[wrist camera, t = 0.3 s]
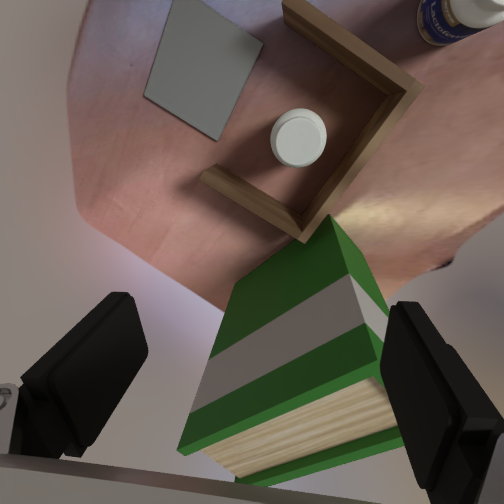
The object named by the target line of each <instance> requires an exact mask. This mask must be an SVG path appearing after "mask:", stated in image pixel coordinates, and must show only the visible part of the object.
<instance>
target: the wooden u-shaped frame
mask: <svg viewBox="0 0 504 504" xmlns="http://www.w3.org/2000/svg"><path fill="white" fill-rule="evenodd" d="M282 9H283V15H284V22H285V24H286V25H288V26H289V27H290V28H292V29H293V30H295V31H296V32H298V33H299V34H300V35H302V36H303V37H305V38H306V39H308V40H309V41H311V42H312V43H313V44H315V45H316V46H318V47H319V48H321V49H322V50H323V51H325V52H326V53H328V54H329V55H331V56H332V57H333V58H335V59H336V60H338V61H339V62H341V63H342V64H344V65H345V66H346V67H348V68H349V69H351V70H352V71H354V72H355V73H356V74H358V75H359V76H361V77H362V78H364V79H365V80H366V81H368V82H369V83H371V84H372V85H374V86H375V87H376V88H378V89H379V90H381V91H382V92H384V93H385V94H387V95H388V96H387V97H386V98H385V100H384V101H383V103H382V104H381V105H380V107H379V108H378V110H377V111H376V112H375V114H374V115H373V117H372V118H371V119H370V121H369V122H368V124H367V125H366V126H365V128H364V129H363V131H362V132H361V133H360V135H359V136H358V138H357V139H356V140H355V142H354V143H353V145H352V146H351V147H350V149H349V150H348V152H347V153H346V154H345V156H344V157H343V159H342V160H341V161H340V163H339V164H338V166H337V167H336V169H335V170H334V171H333V173H332V174H331V176H330V177H329V178H328V180H327V181H326V183H325V184H324V185H323V187H322V188H321V190H320V191H319V192H318V194H317V195H316V197H315V198H314V199H313V201H312V202H311V204H310V205H309V206H308V208H307V209H306V211H305V212H304V213H303V215H300V214H298V213H297V212H295V211H293V210H292V209H290V208H289V207H287V206H285V205H284V204H282V203H280V202H279V201H277V200H275V199H274V198H272V197H271V196H269V195H267V194H266V193H264V192H262V191H261V190H259V189H258V188H256V187H254V186H253V185H251V184H249V183H248V182H246V181H245V180H243V179H241V178H240V177H238V176H236V175H235V174H233V173H232V172H230V171H228V170H227V169H225V168H223V167H222V166H220V165H219V164H217V163H216V164H215V165H213V166H211V167H210V168H208V169H206V170H205V171H203V172H202V174H201V176H200V178H199V181H201V182H203V183H204V184H206V185H208V186H209V187H211V188H213V189H214V190H216V191H218V192H219V193H221V194H223V195H224V196H226V197H228V198H229V199H231V200H233V201H234V202H236V203H238V204H239V205H241V206H243V207H244V208H246V209H248V210H249V211H251V212H253V213H254V214H256V215H258V216H259V217H261V218H263V219H264V220H266V221H268V222H269V223H271V224H273V225H274V226H276V227H278V228H279V229H281V230H283V231H284V232H286V233H287V234H289V235H291V236H292V237H294V238H296V239H297V240H299V241H301V242H302V243H304V244H305V243H306V242H307V240H308V239H309V238H310V236H311V235H312V234H313V232H314V231H315V230H316V229H317V227H318V226H319V225H320V223H321V222H322V221H323V219H324V218H325V217H326V215H327V214H328V213H329V211H330V210H331V209H332V208H333V206H334V205H335V204H336V202H337V201H338V200H339V198H340V197H341V196H342V194H343V193H344V192H345V191H346V189H347V188H348V187H349V185H350V184H351V183H352V181H353V180H354V179H355V177H356V176H357V175H358V173H359V172H360V171H361V170H362V168H363V167H364V166H365V164H366V163H367V162H368V160H369V159H370V158H371V156H372V155H373V154H374V152H375V151H376V150H377V149H378V147H379V146H380V145H381V143H382V142H383V141H384V139H385V138H386V137H387V135H388V134H389V133H390V131H391V130H392V129H393V128H394V126H395V125H396V124H397V122H398V121H399V120H400V118H401V117H402V116H403V114H404V113H405V112H406V110H407V109H408V108H409V107H410V105H411V104H412V103H413V101H414V100H415V99H416V97H417V96H418V95H419V93H420V92H421V91H422V90H423V88H424V87H425V85H423V84H422V83H420V82H419V81H418V80H416V79H415V78H413V77H412V76H411V75H409V74H408V73H406V72H405V71H404V70H402V69H401V68H399V67H398V66H397V65H395V64H394V63H392V62H391V61H390V60H388V59H387V58H385V57H384V56H383V55H381V54H380V53H378V52H377V51H376V50H374V49H373V48H371V47H370V46H369V45H367V44H366V43H364V42H363V41H362V40H360V39H359V38H357V37H356V36H355V35H353V34H352V33H350V32H349V31H348V30H346V29H345V28H343V27H342V26H341V25H339V24H338V23H336V22H335V21H334V20H332V19H331V18H329V17H328V16H327V15H325V14H324V13H322V12H321V11H320V10H318V9H317V8H315V7H314V6H313V5H311V4H310V3H308V2H307V1H306V0H282Z"/></svg>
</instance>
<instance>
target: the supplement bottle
mask: <svg viewBox="0 0 504 504" xmlns="http://www.w3.org/2000/svg"><path fill="white" fill-rule="evenodd" d="M326 138H327V134H326V128H325V125H324V123H323V121H322V120H321V118H320V117H319V116H318V115H317V114H316V113H314V112H313V111H311V110H308V109H304V108H297V109H292V110H289V111H287V112H286V113H284V114H283V115H282V116H280V117H279V119H278V120H277V121H276V123H275V124H274V126H273V129H272V132H271V139H270V141H271V148H272V151H273V153H274V155H275V156H276V158H277V159H278V160H279V161H280V162H281V163H283V164H284V165H286V166H289V167H293V168H301V167H305V166H308V165H310V164H312V163H313V162H315V161H316V160H317V159H318V158H319V157H320V155H321V154H322V152H323V150H324V148H325V145H326Z"/></svg>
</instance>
